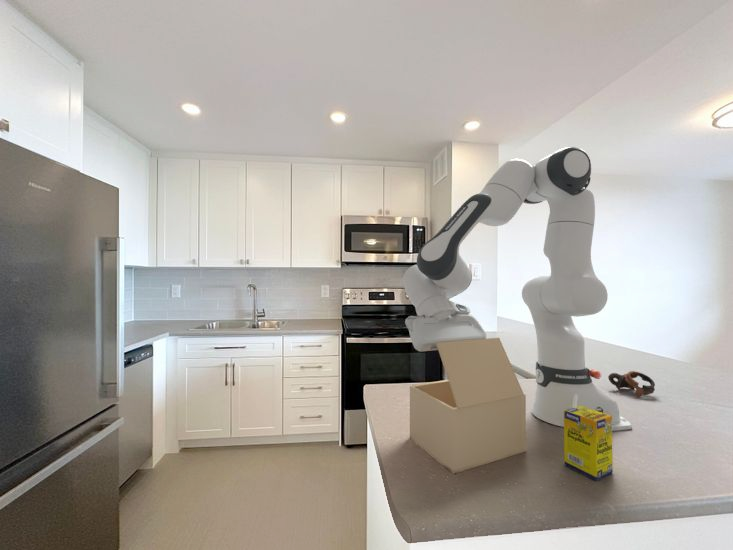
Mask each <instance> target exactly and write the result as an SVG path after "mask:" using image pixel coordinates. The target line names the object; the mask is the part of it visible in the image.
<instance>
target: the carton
mask: <svg viewBox="0 0 733 550" xmlns="http://www.w3.org/2000/svg"><path fill="white" fill-rule="evenodd" d="M526 395H527V394H525V393H524V395H522V396H517V397H512V398H508V399H503V400H498V401H493V402H488V403H483V404H478V405H473V406H468V407H463V408H457V405H456V402H455V399H454V396H453V393H452V390H451V387H450V384H449V381H448V379H444V380H438V381H430V382H423V383H416V384H412V385H410V386H409V440H411V441H412V442H413V443H415V444H416V445H417V446H419V447H420V448H421V449H422V450H423V451H425V452H426V453H427V454H428V455H430V456H431V457H432V458H434V460H436V461H437V462H438V463H439V464H441V465H442V466H443V467H444V468H445V467H446V468H445V469H447V470H448V471H449V472H450V471H451V472H450V473H452V475H456V474H459V473H461V472H464V471H469V470H472V469H474V468H477V467H481V466H483V465H487V464H490V463H493V462H496V461H500V460H503V459H506V458H509V457H512V456H516V455H518V454H522V453H524V452H527V416H526V415H527V413H526V412H527V409H526V407H527V405H526V404H527V403H526V402H527V401H526V399H527V398H526ZM455 473H456V474H455Z"/></svg>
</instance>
